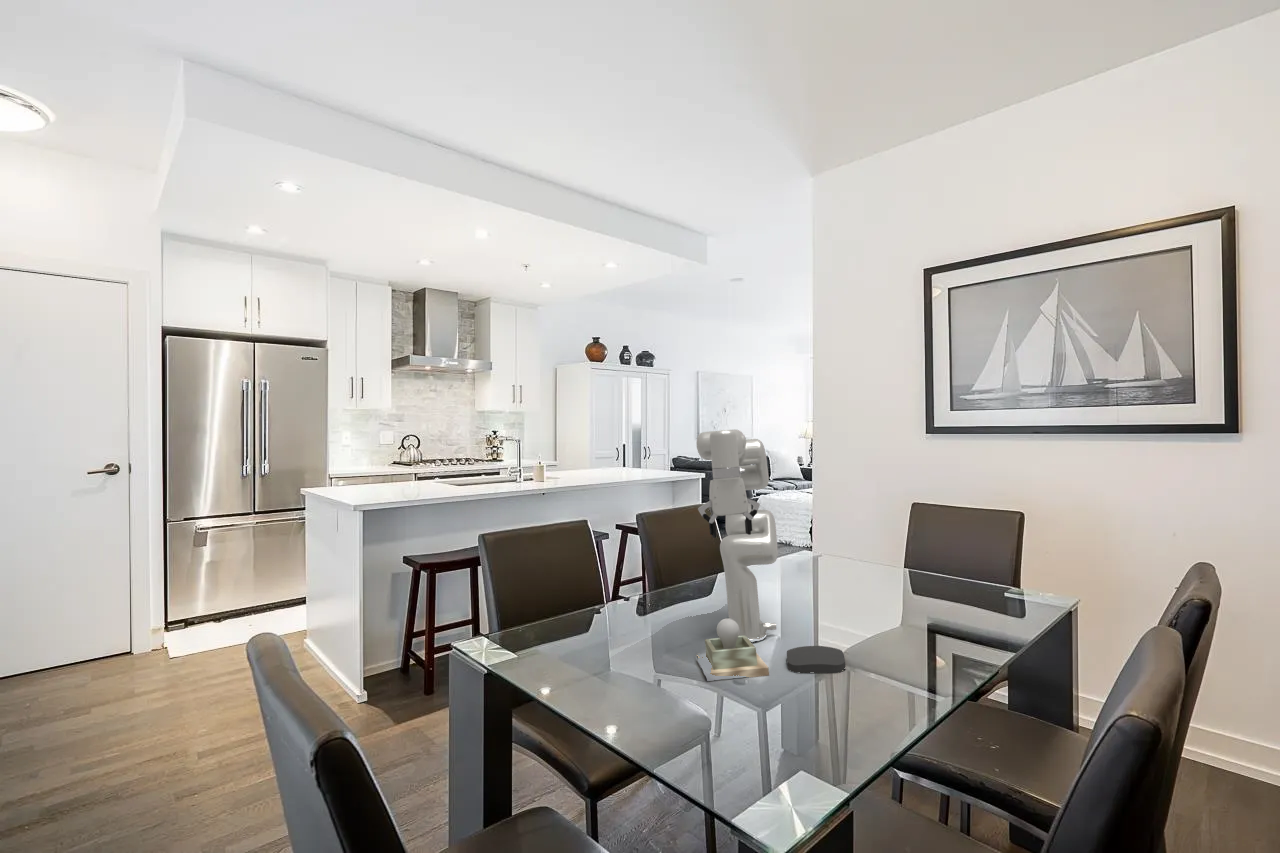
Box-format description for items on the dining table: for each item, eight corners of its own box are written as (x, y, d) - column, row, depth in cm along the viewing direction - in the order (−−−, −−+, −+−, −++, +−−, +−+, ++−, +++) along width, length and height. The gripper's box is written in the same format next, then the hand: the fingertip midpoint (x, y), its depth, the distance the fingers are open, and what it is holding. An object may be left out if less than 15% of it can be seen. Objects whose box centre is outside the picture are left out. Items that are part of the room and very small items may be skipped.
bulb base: (753, 655, 174) (751, 632, 174) (769, 675, 158) (766, 649, 158) (697, 661, 173) (695, 637, 173) (707, 681, 157) (705, 655, 157)
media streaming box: (847, 674, 155) (846, 662, 156) (788, 675, 158) (787, 663, 158) (841, 655, 170) (840, 644, 170) (786, 656, 173) (786, 645, 173)
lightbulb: (724, 665, 162) (720, 623, 162) (715, 658, 168) (712, 617, 168) (745, 661, 164) (742, 619, 164) (736, 655, 169) (732, 614, 170)
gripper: (753, 471, 178) (758, 531, 177) (693, 476, 176) (698, 536, 175) (760, 472, 170) (765, 534, 169) (697, 477, 169) (703, 540, 168)
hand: (731, 535), depth 172 cm, fingers open, 9 cm apart
